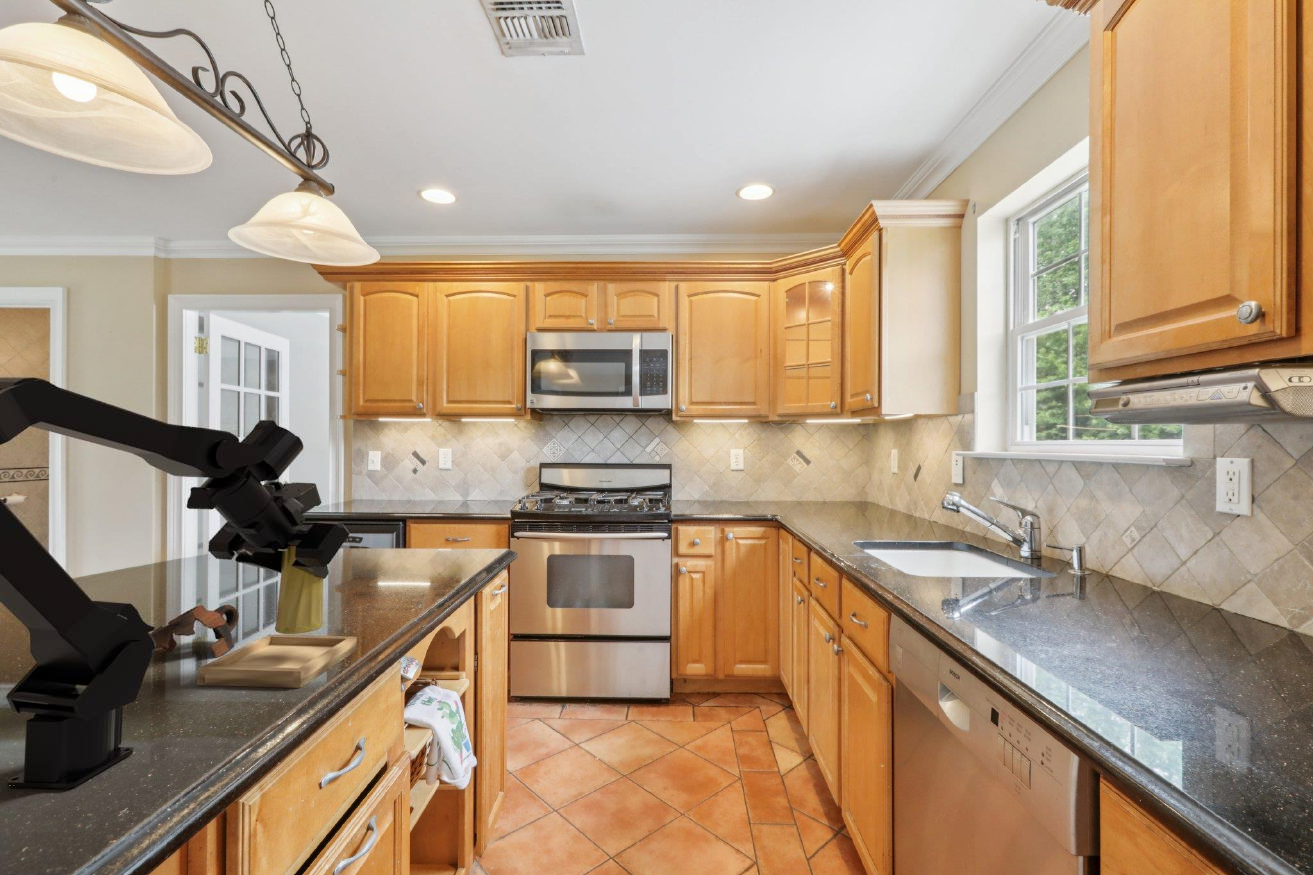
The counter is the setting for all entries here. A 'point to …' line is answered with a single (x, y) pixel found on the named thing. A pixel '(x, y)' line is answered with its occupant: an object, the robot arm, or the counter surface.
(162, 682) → the counter surface
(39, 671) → the robot arm
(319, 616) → the vase
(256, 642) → the maple tray
